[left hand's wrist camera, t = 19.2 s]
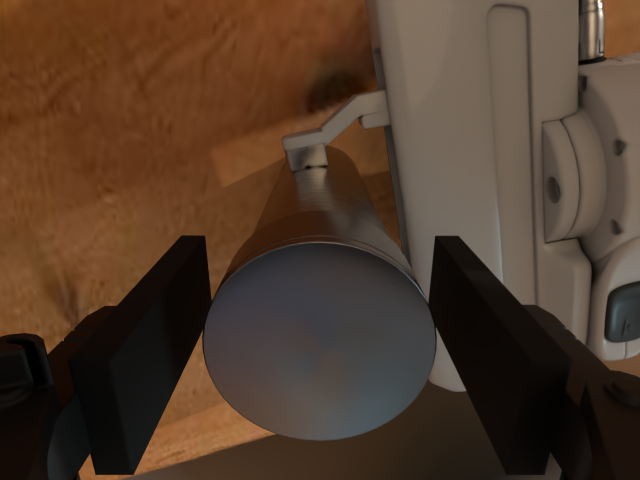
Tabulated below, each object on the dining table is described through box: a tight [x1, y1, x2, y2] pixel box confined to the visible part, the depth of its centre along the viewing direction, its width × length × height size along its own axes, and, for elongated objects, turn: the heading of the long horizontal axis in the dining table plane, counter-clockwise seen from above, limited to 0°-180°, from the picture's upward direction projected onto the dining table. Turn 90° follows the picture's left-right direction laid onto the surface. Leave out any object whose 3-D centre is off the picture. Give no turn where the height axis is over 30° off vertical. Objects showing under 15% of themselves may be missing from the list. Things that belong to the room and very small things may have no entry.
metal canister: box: [202, 211, 437, 441], centre depth 11 cm, size 6×6×2 cm
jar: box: [252, 146, 387, 235], centre depth 18 cm, size 5×5×16 cm
